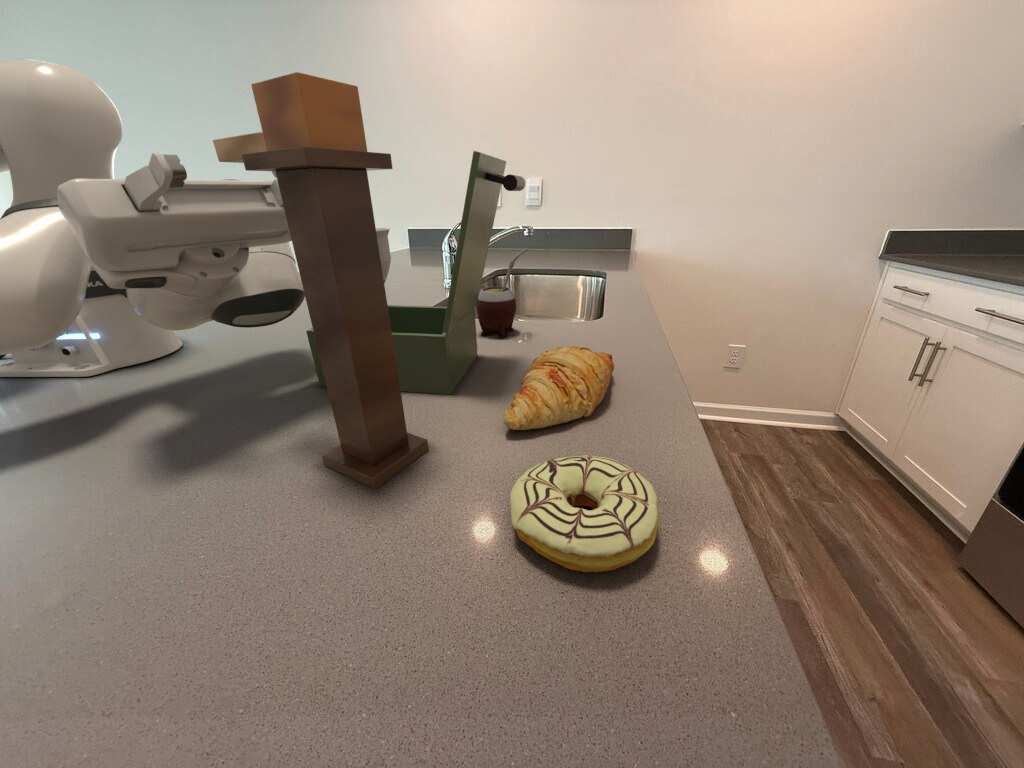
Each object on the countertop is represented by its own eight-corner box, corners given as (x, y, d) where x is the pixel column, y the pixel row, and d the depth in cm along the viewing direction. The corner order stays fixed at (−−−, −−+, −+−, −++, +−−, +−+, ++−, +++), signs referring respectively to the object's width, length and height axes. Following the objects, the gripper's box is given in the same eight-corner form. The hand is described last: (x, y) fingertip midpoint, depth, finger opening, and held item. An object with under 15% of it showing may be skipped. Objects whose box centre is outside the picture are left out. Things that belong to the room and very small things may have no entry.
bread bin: (319, 386, 55) (305, 331, 52) (368, 350, 67) (360, 304, 64) (450, 394, 52) (445, 336, 49) (477, 356, 64) (474, 307, 61)
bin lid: (473, 150, 40) (515, 161, 39) (501, 159, 52) (533, 168, 51) (442, 332, 48) (476, 342, 48) (472, 304, 61) (499, 312, 60)
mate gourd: (473, 330, 76) (467, 246, 69) (511, 324, 79) (509, 243, 72) (487, 342, 70) (482, 251, 63) (528, 335, 72) (528, 247, 66)
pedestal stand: (324, 465, 39) (241, 153, 28) (380, 431, 44) (329, 159, 33) (375, 489, 35) (304, 146, 24) (429, 449, 41) (390, 153, 30)
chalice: (398, 338, 72) (382, 231, 65) (360, 339, 73) (340, 232, 65) (408, 326, 79) (394, 227, 71) (373, 326, 79) (356, 228, 72)
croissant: (530, 475, 42) (561, 429, 37) (465, 410, 45) (486, 359, 40) (621, 396, 57) (653, 355, 51) (567, 352, 60) (592, 308, 54)
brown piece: (202, 161, 32) (184, 101, 31) (259, 163, 36) (245, 109, 34) (312, 149, 26) (296, 71, 24) (368, 153, 29) (358, 86, 28)
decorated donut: (532, 471, 37) (533, 436, 36) (655, 495, 34) (661, 457, 33) (492, 559, 28) (489, 518, 27) (652, 602, 25) (661, 558, 24)
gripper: (302, 260, 51) (356, 198, 42) (86, 292, 35) (102, 205, 26) (276, 212, 50) (326, 139, 41) (43, 224, 34) (44, 110, 26)
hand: (236, 165), depth 34 cm, fingers open, 8 cm apart
